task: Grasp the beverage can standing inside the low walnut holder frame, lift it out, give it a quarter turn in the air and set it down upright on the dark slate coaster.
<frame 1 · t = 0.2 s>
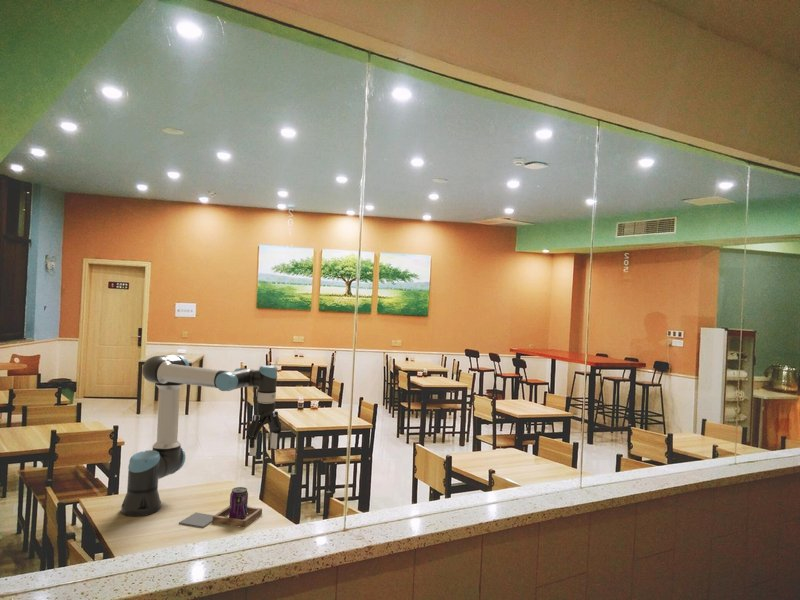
hand: (263, 451, 219), 27 cm above the table, fingers open, 13 cm apart
holder: (237, 518, 213), on the table
beverage can: (237, 518, 213), resting in holder
coaster: (199, 520, 209), on the table
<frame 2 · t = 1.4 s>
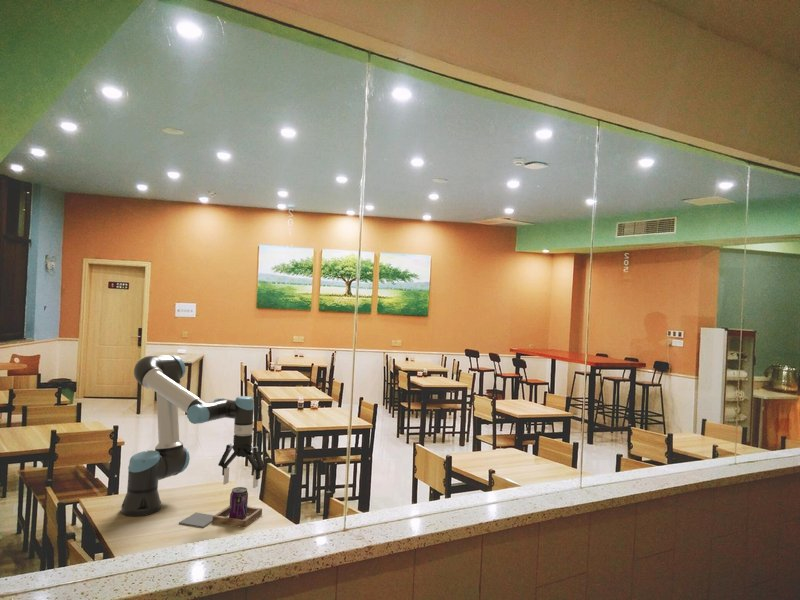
hand: (240, 485, 214), 14 cm above the table, fingers open, 13 cm apart
nothing on the table moved.
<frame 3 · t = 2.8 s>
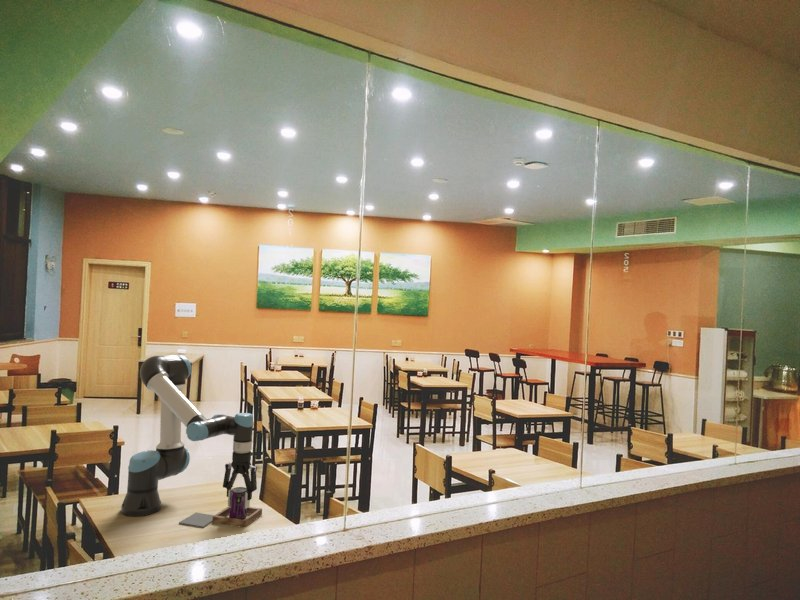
hand: (238, 506, 213), 5 cm above the table, fingers closed on beverage can, 7 cm apart
beverage can: (237, 518, 213), resting in holder, touching gripper
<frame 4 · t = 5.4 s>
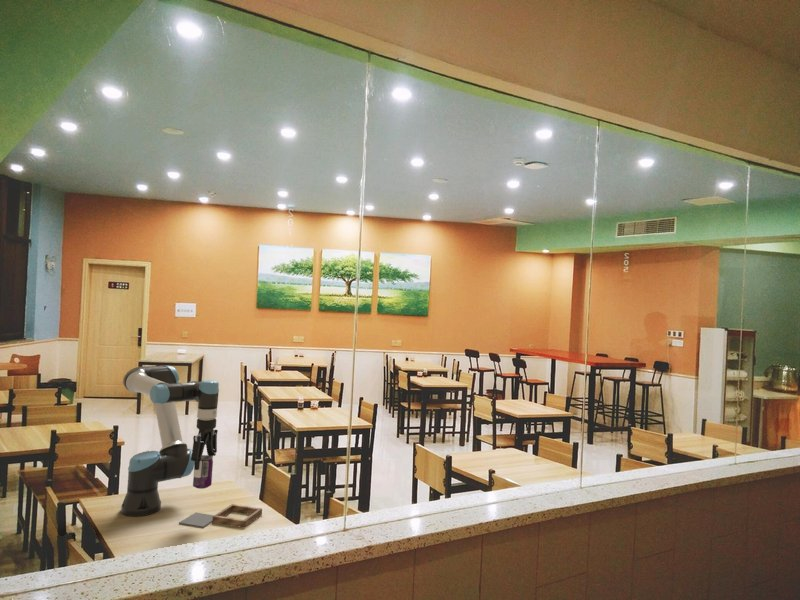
hand: (202, 474, 210), 19 cm above the table, fingers closed on beverage can, 7 cm apart
beverage can: (202, 487, 210), point 13 cm above the table, touching gripper
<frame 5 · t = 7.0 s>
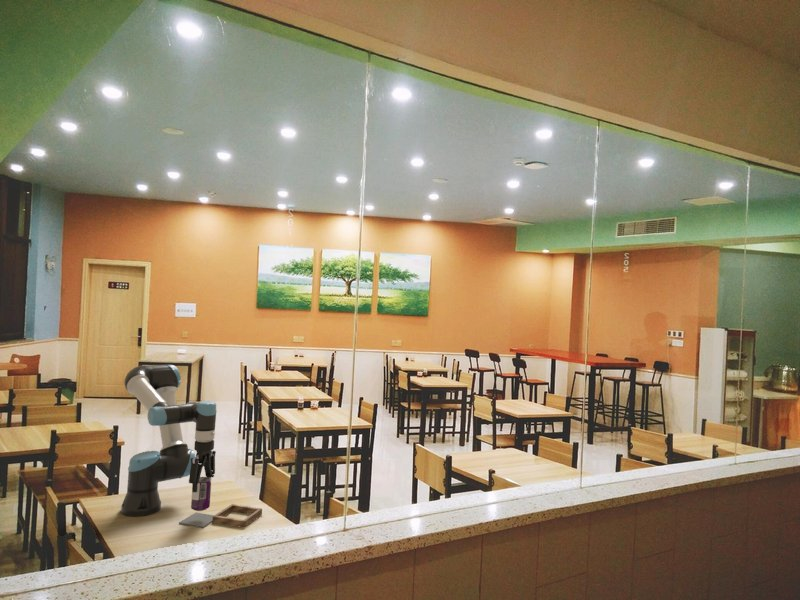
hand: (201, 496, 209), 10 cm above the table, fingers closed on beverage can, 7 cm apart
beverage can: (200, 509, 209), point 5 cm above the table, touching gripper
when the fingers open (7 cm above the table, at t = 8.1 s): beverage can stays where it is, resting on coaster.
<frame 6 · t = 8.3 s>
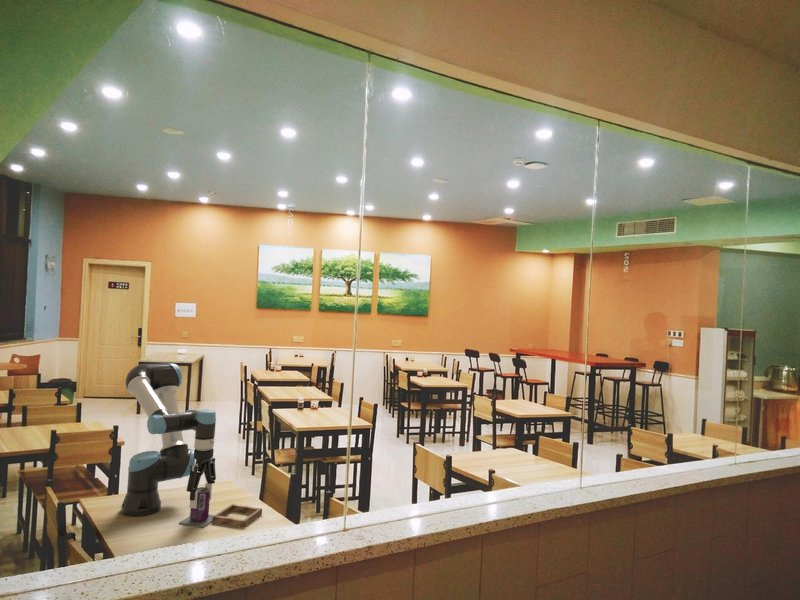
hand: (200, 503, 209), 7 cm above the table, fingers open, 9 cm apart
beverage can: (199, 519, 209), resting on coaster
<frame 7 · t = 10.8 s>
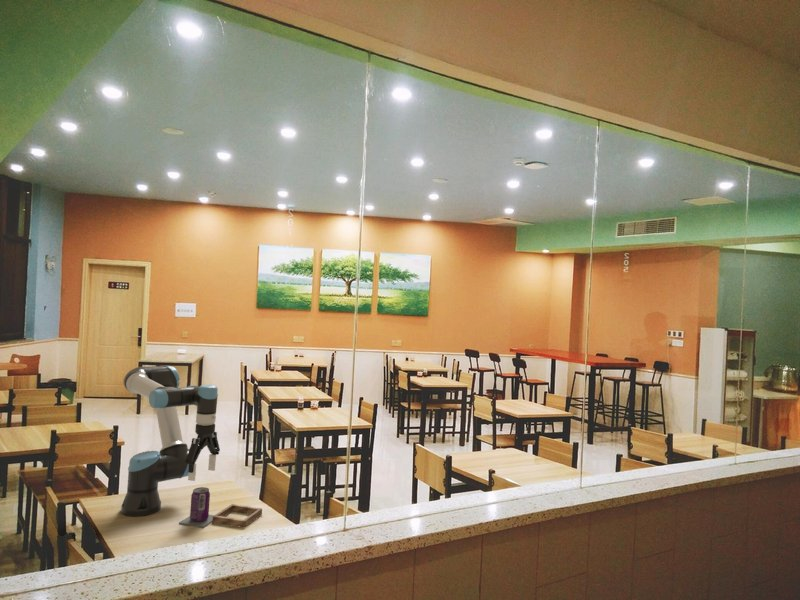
hand: (201, 475, 210), 18 cm above the table, fingers open, 13 cm apart
nothing on the table moved.
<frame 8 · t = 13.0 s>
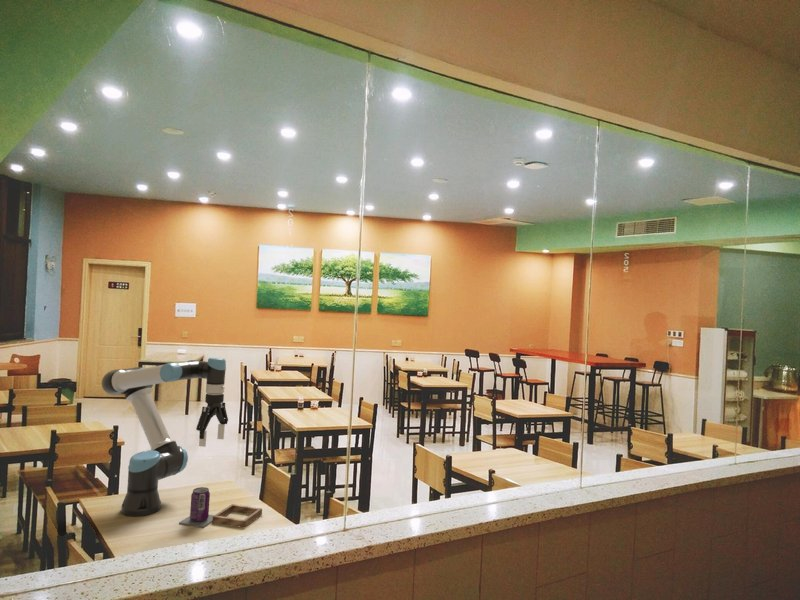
hand: (211, 442, 222), 29 cm above the table, fingers open, 13 cm apart
nothing on the table moved.
at the end: beverage can 0.2 cm from the coaster (horizontally); beverage can tilted 0°; the gripper is holding nothing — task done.
